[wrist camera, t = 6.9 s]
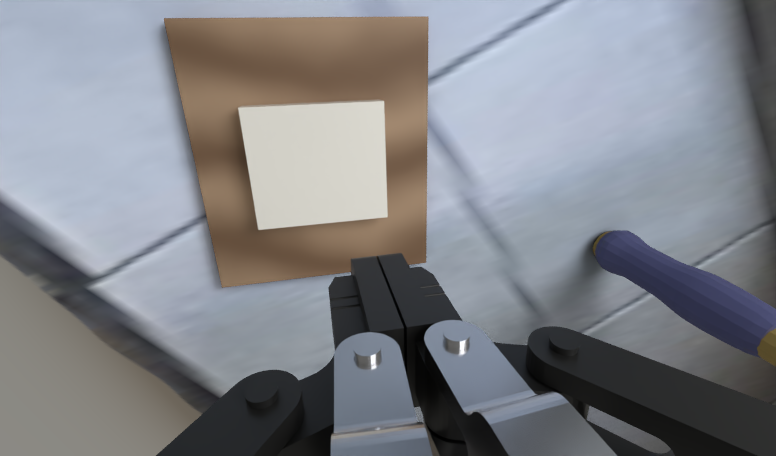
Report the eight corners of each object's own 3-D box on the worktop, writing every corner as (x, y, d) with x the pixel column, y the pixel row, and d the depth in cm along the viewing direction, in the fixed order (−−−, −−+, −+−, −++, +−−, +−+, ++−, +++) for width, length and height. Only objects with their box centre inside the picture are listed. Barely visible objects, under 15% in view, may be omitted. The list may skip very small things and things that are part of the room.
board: (169, 20, 24) (163, 18, 23) (423, 19, 27) (428, 16, 26) (224, 279, 31) (222, 287, 29) (422, 256, 33) (426, 262, 32)
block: (379, 99, 27) (242, 105, 25) (384, 101, 25) (238, 107, 24) (383, 209, 30) (260, 221, 28) (387, 217, 28) (258, 230, 27)
